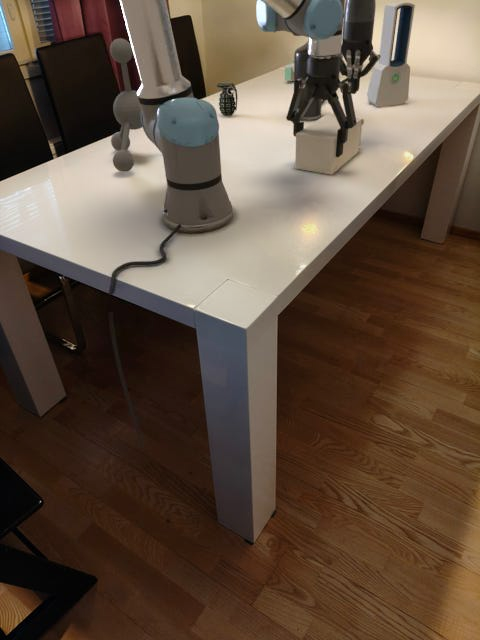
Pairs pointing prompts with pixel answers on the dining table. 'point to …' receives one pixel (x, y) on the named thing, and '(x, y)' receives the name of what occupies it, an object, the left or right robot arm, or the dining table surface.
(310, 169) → the cabinet
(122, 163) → the molecular model
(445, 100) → the dining table surface
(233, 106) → the grenade
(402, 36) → the electronic device
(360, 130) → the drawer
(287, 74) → the decorative block
